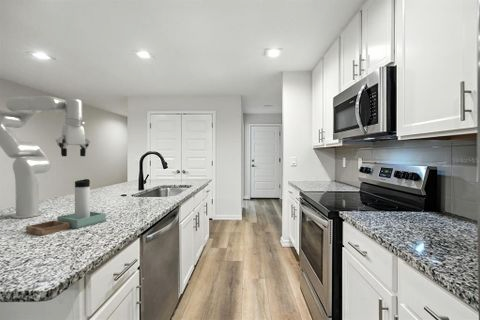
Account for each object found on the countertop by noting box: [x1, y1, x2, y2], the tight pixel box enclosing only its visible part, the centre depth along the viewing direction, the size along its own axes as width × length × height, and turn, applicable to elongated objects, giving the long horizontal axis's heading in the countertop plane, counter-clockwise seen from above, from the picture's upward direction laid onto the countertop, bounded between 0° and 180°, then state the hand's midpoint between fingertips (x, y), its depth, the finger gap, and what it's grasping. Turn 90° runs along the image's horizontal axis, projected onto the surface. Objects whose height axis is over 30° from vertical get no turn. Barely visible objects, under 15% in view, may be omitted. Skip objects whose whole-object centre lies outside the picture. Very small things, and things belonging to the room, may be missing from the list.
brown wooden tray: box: [25, 219, 70, 236], centre depth 114 cm, size 11×11×2 cm
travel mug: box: [74, 178, 91, 219], centre depth 126 cm, size 6×7×20 cm
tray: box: [56, 210, 107, 230], centre depth 126 cm, size 14×14×4 cm
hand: (73, 156), depth 136 cm, fingers open, 9 cm apart
